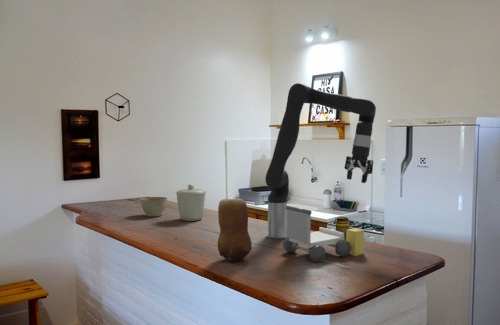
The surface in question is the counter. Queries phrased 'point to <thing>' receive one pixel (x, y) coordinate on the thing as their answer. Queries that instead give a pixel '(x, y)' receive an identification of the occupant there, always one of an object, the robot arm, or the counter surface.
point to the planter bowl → (154, 205)
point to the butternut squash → (233, 229)
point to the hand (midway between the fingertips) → (356, 181)
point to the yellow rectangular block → (355, 241)
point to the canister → (191, 203)
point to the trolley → (311, 236)
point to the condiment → (342, 226)
